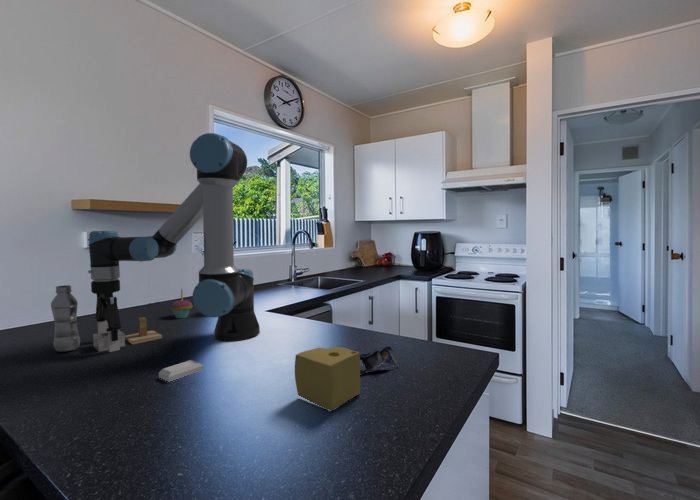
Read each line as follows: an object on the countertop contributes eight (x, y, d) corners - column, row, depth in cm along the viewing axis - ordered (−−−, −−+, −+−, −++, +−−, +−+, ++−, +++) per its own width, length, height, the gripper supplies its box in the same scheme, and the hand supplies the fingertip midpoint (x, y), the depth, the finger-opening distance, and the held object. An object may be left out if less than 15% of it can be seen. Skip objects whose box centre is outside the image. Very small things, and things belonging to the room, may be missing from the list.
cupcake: (172, 315, 155) (171, 287, 154) (194, 313, 157) (193, 286, 156) (169, 320, 146) (168, 291, 146) (191, 318, 149) (190, 289, 148)
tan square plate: (162, 338, 122) (161, 317, 122) (132, 344, 116) (131, 323, 115) (153, 332, 129) (152, 313, 128) (124, 338, 122) (123, 318, 122)
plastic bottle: (66, 354, 107) (62, 288, 106) (47, 353, 108) (43, 287, 107) (86, 347, 113) (82, 284, 112) (68, 346, 114) (64, 284, 113)
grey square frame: (125, 346, 114) (124, 333, 114) (98, 351, 109) (98, 338, 109) (119, 341, 119) (118, 329, 119) (93, 346, 114) (93, 334, 114)
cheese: (327, 383, 86) (326, 342, 85) (363, 396, 79) (362, 351, 78) (294, 399, 78) (293, 354, 77) (331, 415, 71) (330, 366, 70)
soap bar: (159, 379, 89) (158, 369, 89) (193, 368, 97) (192, 358, 97) (169, 384, 87) (168, 373, 86) (203, 372, 94) (203, 362, 94)
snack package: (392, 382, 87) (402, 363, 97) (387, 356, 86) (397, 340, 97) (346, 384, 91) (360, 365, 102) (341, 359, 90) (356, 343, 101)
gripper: (82, 277, 119) (86, 339, 120) (100, 285, 102) (104, 358, 103) (109, 274, 124) (112, 335, 126) (130, 282, 107) (133, 352, 108)
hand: (108, 345), depth 114 cm, fingers open, 13 cm apart
